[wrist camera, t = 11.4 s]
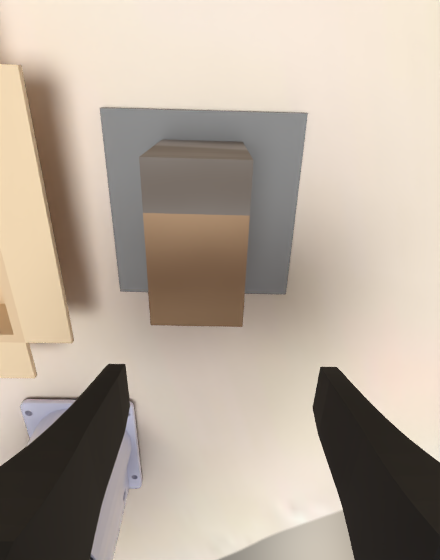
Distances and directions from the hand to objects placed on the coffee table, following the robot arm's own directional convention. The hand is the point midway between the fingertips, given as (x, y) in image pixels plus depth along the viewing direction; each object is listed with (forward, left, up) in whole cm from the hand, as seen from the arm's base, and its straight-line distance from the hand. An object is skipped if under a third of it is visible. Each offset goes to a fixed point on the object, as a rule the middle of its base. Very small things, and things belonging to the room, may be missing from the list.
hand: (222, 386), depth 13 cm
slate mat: (+4, +1, -9) cm, 10 cm away
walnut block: (+4, +1, -9) cm, 10 cm away
